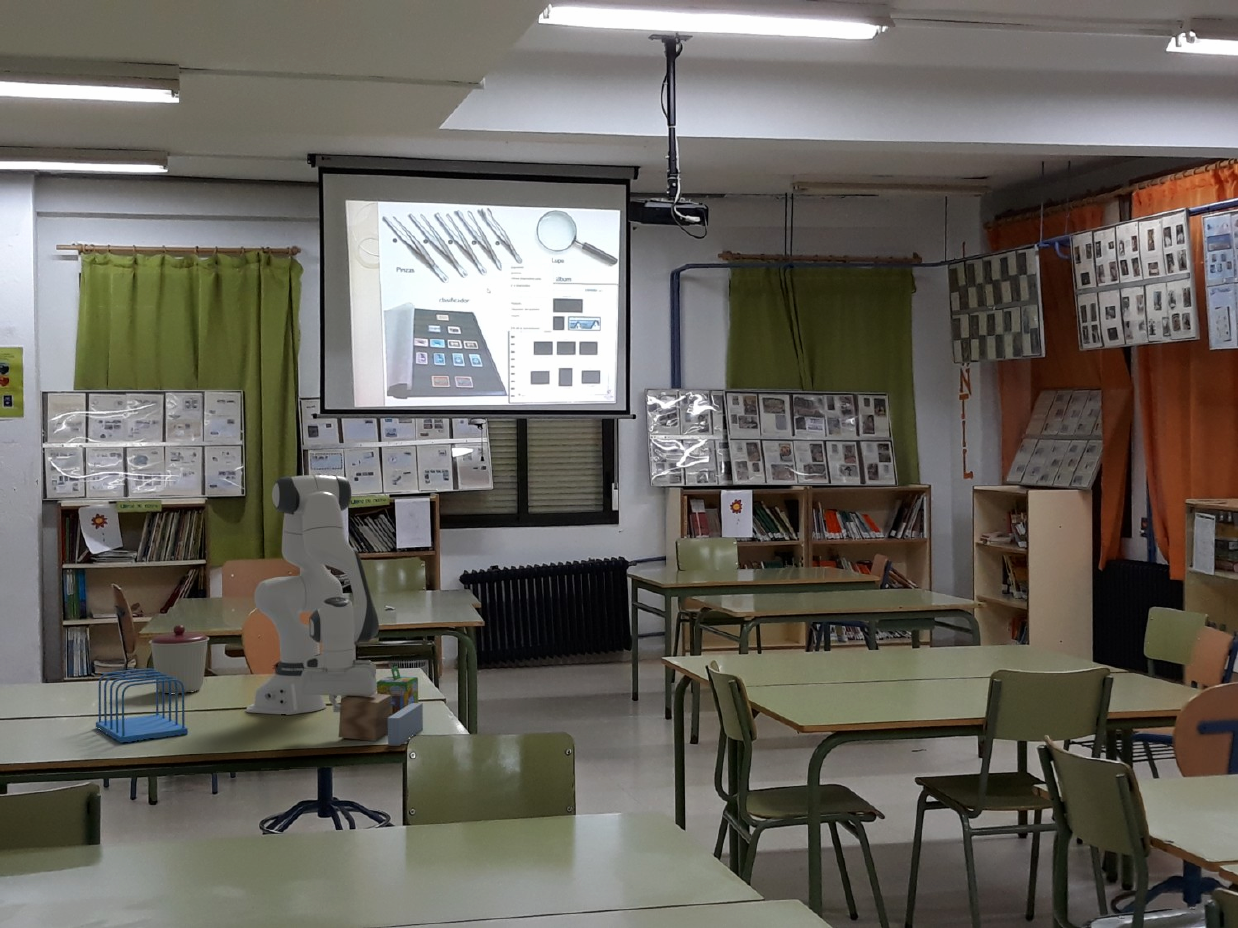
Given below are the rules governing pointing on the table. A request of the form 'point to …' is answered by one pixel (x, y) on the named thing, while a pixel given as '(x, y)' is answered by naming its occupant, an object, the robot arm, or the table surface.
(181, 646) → the canister
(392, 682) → the chalk box
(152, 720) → the file sorter
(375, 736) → the walnut cube
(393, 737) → the board
